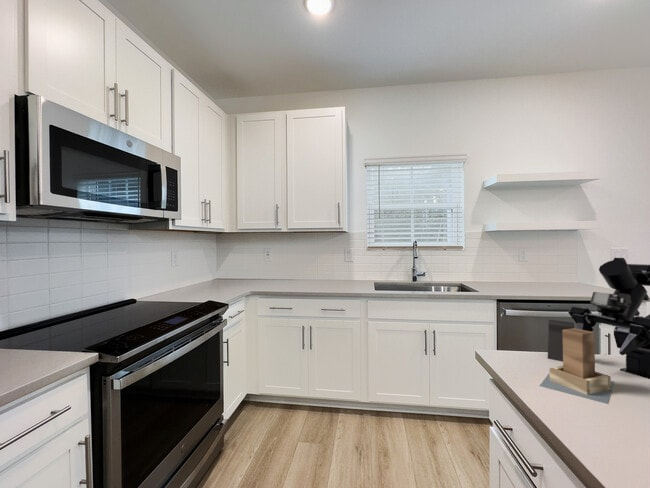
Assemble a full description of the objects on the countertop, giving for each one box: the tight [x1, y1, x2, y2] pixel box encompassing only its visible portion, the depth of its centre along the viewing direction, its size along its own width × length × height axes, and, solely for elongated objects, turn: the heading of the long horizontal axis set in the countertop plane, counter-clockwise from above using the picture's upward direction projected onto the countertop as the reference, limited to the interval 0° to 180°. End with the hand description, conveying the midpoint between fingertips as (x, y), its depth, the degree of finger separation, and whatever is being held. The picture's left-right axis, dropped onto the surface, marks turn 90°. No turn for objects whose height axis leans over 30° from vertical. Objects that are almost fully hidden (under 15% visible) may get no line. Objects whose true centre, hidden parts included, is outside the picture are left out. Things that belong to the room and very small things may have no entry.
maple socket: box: [549, 365, 612, 395], centre depth 76 cm, size 8×8×3 cm
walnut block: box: [562, 327, 596, 379], centre depth 76 cm, size 4×4×13 cm
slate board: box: [538, 372, 615, 405], centre depth 76 cm, size 16×12×1 cm
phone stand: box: [547, 319, 575, 363], centre depth 95 cm, size 9×6×12 cm, turn 136°
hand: (598, 348), depth 79 cm, fingers open, 9 cm apart
